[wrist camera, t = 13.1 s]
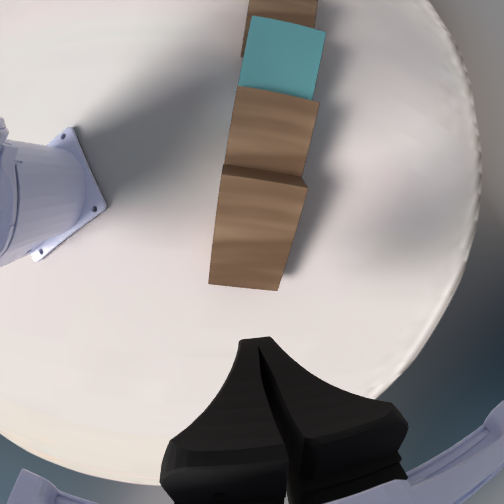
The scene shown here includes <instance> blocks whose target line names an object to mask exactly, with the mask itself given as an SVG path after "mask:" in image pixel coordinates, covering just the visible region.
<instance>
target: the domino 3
mask: <svg viewBox="0 0 504 504" xmlns="http://www.w3.org/2000/svg"><path fill="white" fill-rule="evenodd" d="M319 104H320V103H319V102H315V101H311V100H307V99H303V98H299V97H295V96H291V95H286V94H282V93H277V92H272V91H267V90H261V89H255V88H249V87H243V86H237V91H236V97H235V102H234V108H233V113H232V119H231V125H230V131H229V137H228V143H227V149H226V156H225V162H224V165H231V166H239V167H246V168H252V169H259V170H265V171H271V172H277V173H283V174H288V175H293V176H299V177H302V173H303V169H304V166H305V162H306V158H307V154H308V150H309V146H310V142H311V137H312V133H313V129H314V125H315V121H316V117H317V112H318V108H319Z"/></svg>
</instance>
